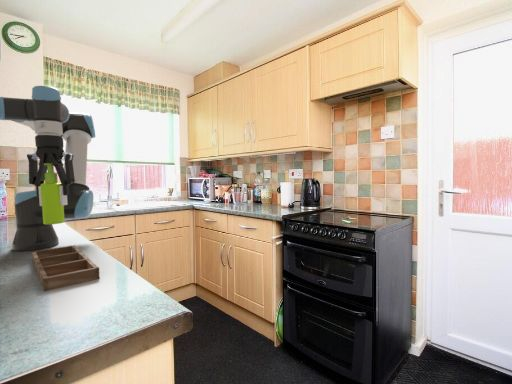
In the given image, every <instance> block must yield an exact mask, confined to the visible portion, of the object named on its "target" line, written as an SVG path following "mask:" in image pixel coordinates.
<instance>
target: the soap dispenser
mask: <svg viewBox="0 0 512 384" xmlns="http://www.w3.org/2000/svg"><path fill="white" fill-rule="evenodd" d="M44 165H47V172H46V173H45V181H44V183H43V184H41V198H42V212H43V224H52V225H58V224H64V223H65V221H66V219H64V205H63V206H60V191H59V186H61V185H60V184H61V182H59V181H58V174H57V172H55V169H54V168H55V166H53V164H52V163H45V164H44ZM63 166H64V163H63Z"/></svg>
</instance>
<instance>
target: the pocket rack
mask: <svg viewBox="0 0 512 384" xmlns="http://www.w3.org/2000/svg"><path fill="white" fill-rule="evenodd" d="M31 261H32V263H33V265H34V269H35V272H36V274H37V276H38V279H39V281H40V284H41V287H42V290H43V292H46V291H51V290H55V289H59V288H63V287H68V285H69V286H72V284H73V285H77V284H81V282H82V283H86V282H89V281H94V280H99V279H101V278H100V267H99V266H98V265H97V264H95V262H93V261H92V260H91V259H90V258H89V257H88V256H87V255H86V254H85V253H84V252H82V251H81V249H79V248H78V247H77V246H76V245H75V244H74V245H68V246H62V247H54V248H49V249H48V248H46V249H40V250H36V251H34V250H33V251H31ZM76 283H77V284H76Z"/></svg>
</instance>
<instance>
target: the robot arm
mask: <svg viewBox="0 0 512 384" xmlns="http://www.w3.org/2000/svg"><path fill="white" fill-rule="evenodd" d="M61 100H62V97H61V91H60V90H59V89H58V88H55V87H53V86H47V85H35V86H33V87H32V89H31V98H17V97H15V98H14V97H4V96H0V121H11V122H14V123H17V124H20V125H24V126H26V127H29V128H30V129H31V130H32V131H34V134H35V137H34V141H35V142H34V143H35V147H36V151H35V152H34V153H28V154H26V157H27V160H28V184H29V185H33V186H35V190H34V189H33V190H27V191H20V192H17V193H16V194H15V196H14V208H15V209H14V211H15V212H14V213H15V223H16V232H15V235H14V237H13V241H12V244H11V246H12V247H11V248H12V250H13V251H17V252H22V251H23V252H25V251H34V250H36V251H38V250H44V249H48V248H51V247H55V246H57V245H58V244H60V243H59V237H58V235H57V232H56V231H55V227H54V224H43V212H42V198H41V184H43V183H45V173H46V172H48V170H47V165H44V164H45V163H52V164H53V167H54V168H55V169H54V170H56V173H57V177H58V179H59V181H60V183H61V184H60V185H61V186H59V191H60V206H63V205H64V220H70V219H76V220H77V219H82V218H83V219H84V218H88V217H89V216H90V215H91V213H92V211H93V206H94V192H93V191H92V190H90V187H89V186H88V185H87V184H86V183H87V168H88V167H87V162H88V144H90V143H91V142H92V139H94V138H96V130H95V124H94V121H93V120H94V119H93V117H92V115H91V114H89V113H86V112H85V113H84V112H80V113H79V112H70V110H69V108H68V107H67V106H66V105H65V104H64V103H62V101H61ZM64 141H65V150H64ZM38 159H39V162H38ZM63 159H64V163H63V161H62V160H63ZM63 164H64V165H63Z"/></svg>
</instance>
